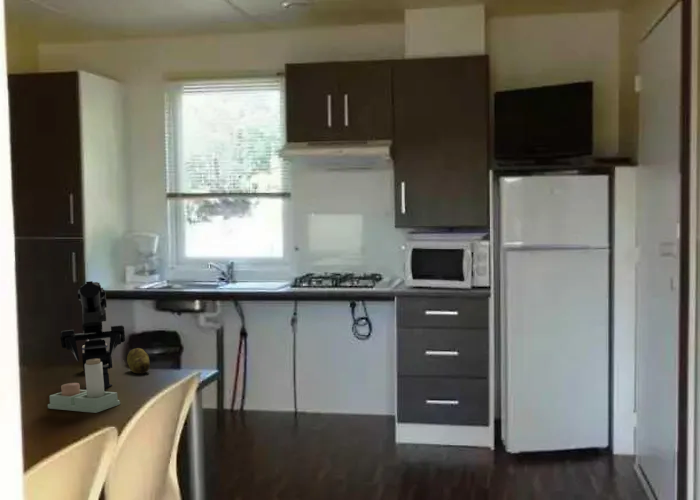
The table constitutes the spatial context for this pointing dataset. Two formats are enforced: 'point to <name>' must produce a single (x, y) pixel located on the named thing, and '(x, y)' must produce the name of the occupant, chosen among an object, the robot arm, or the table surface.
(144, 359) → the potato
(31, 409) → the table surface
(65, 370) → the table surface
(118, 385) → the table surface
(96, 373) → the spice jar
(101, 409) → the spice stand
